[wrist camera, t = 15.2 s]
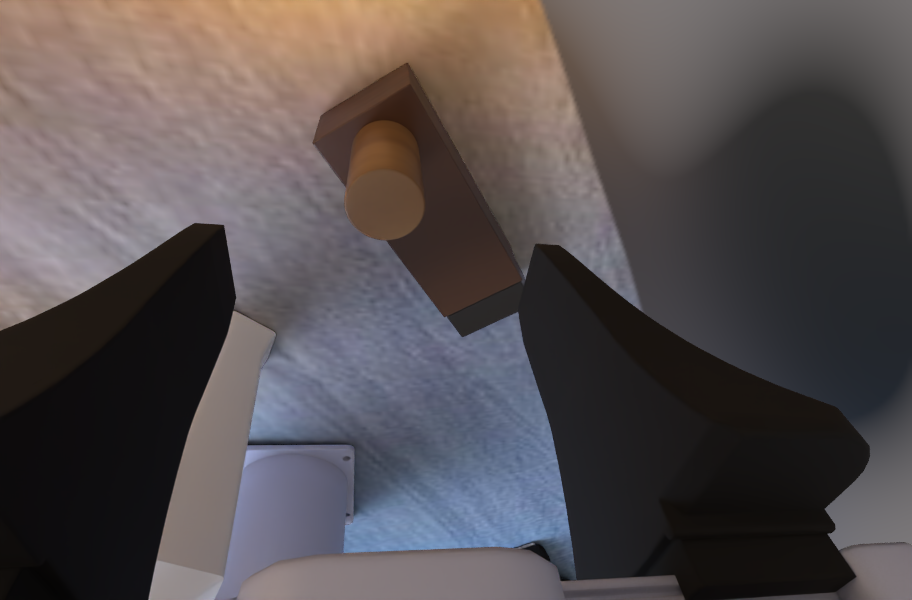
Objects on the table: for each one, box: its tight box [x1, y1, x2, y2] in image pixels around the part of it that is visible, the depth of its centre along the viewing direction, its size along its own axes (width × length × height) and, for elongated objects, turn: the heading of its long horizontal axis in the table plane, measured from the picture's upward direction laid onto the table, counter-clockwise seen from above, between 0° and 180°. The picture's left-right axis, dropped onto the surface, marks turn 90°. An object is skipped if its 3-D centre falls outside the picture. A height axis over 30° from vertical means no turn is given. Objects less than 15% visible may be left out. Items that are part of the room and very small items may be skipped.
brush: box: [313, 63, 525, 337], centre depth 20 cm, size 11×4×7 cm, turn 28°
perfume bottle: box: [148, 311, 276, 600], centre depth 21 cm, size 5×4×15 cm
